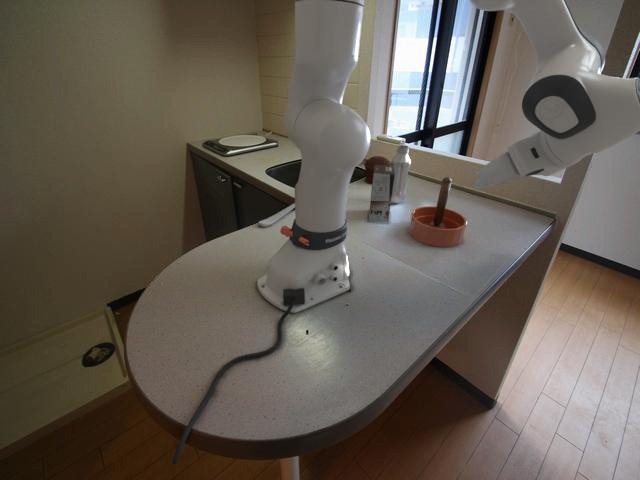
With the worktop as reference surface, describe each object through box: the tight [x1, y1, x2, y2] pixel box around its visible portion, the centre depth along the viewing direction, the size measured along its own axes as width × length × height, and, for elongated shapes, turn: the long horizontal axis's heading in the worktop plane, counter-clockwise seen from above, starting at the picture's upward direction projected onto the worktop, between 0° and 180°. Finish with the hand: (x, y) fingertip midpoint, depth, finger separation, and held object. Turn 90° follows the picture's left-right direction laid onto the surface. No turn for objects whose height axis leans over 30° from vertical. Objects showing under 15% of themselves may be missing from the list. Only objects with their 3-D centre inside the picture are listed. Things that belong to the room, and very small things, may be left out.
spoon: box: [258, 202, 295, 228], centre depth 109 cm, size 35×8×3 cm, turn 144°
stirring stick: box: [429, 176, 452, 229], centre depth 89 cm, size 4×4×17 cm
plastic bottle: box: [390, 144, 412, 205], centre depth 110 cm, size 6×7×20 cm
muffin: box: [363, 155, 392, 184], centre depth 132 cm, size 12×11×10 cm
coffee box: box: [368, 165, 395, 223], centre depth 100 cm, size 9×6×16 cm
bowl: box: [408, 205, 468, 248], centre depth 93 cm, size 15×15×6 cm
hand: (488, 183), depth 75 cm, fingers open, 8 cm apart
